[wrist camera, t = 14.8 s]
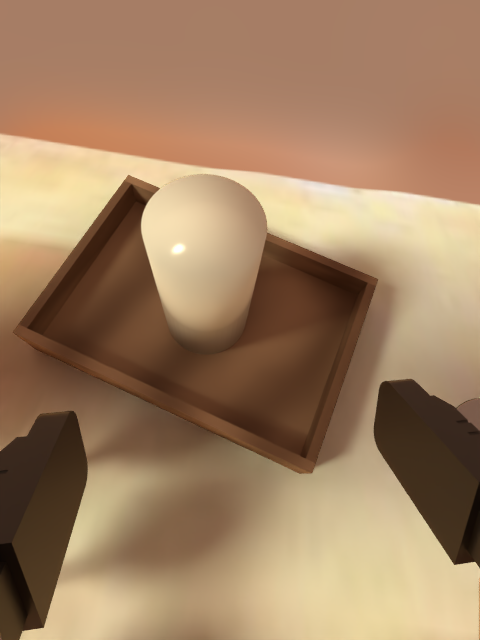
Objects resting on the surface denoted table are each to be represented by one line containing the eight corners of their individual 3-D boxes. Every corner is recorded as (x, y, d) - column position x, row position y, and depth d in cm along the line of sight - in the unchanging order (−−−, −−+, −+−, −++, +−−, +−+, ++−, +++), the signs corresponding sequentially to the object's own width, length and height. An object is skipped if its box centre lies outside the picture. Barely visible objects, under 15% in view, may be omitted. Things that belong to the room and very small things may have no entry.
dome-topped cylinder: (152, 333, 27) (116, 246, 16) (190, 269, 29) (179, 157, 18) (225, 367, 26) (234, 300, 16) (258, 300, 28) (286, 203, 18)
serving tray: (34, 348, 27) (12, 332, 24) (135, 202, 32) (128, 174, 29) (299, 473, 25) (312, 473, 22) (361, 298, 30) (378, 279, 27)
